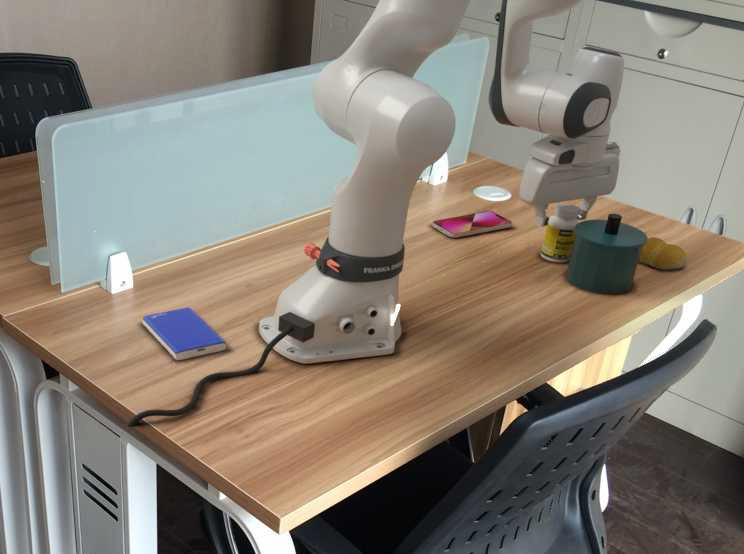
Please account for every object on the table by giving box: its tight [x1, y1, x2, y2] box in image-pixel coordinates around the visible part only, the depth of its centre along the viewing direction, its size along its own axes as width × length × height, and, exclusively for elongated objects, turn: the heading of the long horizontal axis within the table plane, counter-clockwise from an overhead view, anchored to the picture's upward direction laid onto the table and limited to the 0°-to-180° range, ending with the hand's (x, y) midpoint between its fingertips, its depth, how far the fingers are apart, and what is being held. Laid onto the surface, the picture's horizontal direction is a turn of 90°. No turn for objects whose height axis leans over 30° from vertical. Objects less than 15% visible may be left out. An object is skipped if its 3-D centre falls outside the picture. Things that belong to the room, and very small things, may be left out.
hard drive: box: [142, 307, 227, 361], centre depth 144 cm, size 2×8×12 cm
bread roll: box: [638, 236, 687, 271], centre depth 175 cm, size 8×9×4 cm
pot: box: [565, 235, 643, 295], centre depth 165 cm, size 11×11×8 cm
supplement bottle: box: [540, 202, 580, 264], centre depth 173 cm, size 5×5×10 cm
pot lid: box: [574, 213, 648, 249], centre depth 162 cm, size 12×12×4 cm
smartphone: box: [431, 210, 513, 238], centre depth 187 cm, size 7×1×15 cm
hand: (560, 222), depth 172 cm, fingers open, 8 cm apart
